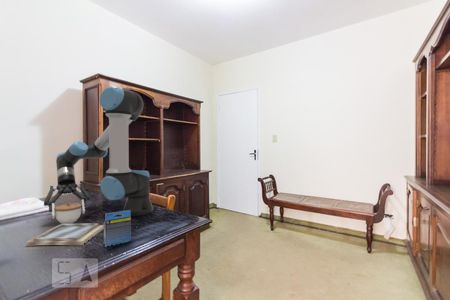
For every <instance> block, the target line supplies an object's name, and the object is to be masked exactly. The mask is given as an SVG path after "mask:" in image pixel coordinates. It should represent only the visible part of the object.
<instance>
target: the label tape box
mask: <svg viewBox="0 0 450 300" xmlns="http://www.w3.org/2000/svg"><path fill="white" fill-rule="evenodd" d="M118 215H119V216H118ZM131 222H132V216H131V211H130V210H127V211H123V210H120V211H115V212H109V213H108V212H106V213H105V220H104V221H103V225H104V229H103V244H105V245H104V247H105V248H107V246H109V247H112V246H111V245H113V246H117V245H121V244H124V243H129V241H130V242H131V241H132V240H131V239H132V237H131V236H132V233H131V232H132V231H131V230H132V229H131V228H132V223H131ZM120 243H121V244H120ZM116 244H117V245H116Z"/></svg>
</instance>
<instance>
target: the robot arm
mask: <svg viewBox="0 0 450 300" xmlns="http://www.w3.org/2000/svg"><path fill="white" fill-rule="evenodd" d="M99 104H100V106H101V108H102V109H103V110H105V116H106V117H108V123H109V124H108V126H107V127H106V129H104V130H103V132H102V133H101V134H100V136H98V138H97V139H96V140H95V141H94V143H92V145H91V144H90V145H87V144H86V143H85V142H83V141H80V140H77V141H74V142H73V143H72V144H70V145H69V147H68V149H66V151H63V152H61V153H58V154H57V156H56V160H55V161H56V163H55V164H56V176H57V179H56V180H57V185H56V186H54V185H50V186H49V191H48V193H47V195H46V197H45V199H44V201H43V206H45V207H47V206H48V212H49V213H51V215H52V217H51V218H52V219H55V203H56V201H57V200H58V199H59V198H61V196H62V195H66V194H71V193H72V194H73V195H74V196H76V197H77V198H78V199H79V200H80V201H81V202H80V204H82V207H81V214H83V215H84V214H85V212H86V209H85V208H86V207H87V205H88V202H87V201H90V200H91V199H90V198H91V196H90V194H89V193H88V191H87V190H86V188H85V187H84V184H83V182H82V183H81V182H80V183H79V184H77V183H76V176H75V175H76V173H75V165H76V164H77V163H78V162H79V161H80V160H84V159H85V160H86V159H87V160H88V159H101V158H105V157H106V156H108V157H109V159H108V160H109V162H108V163H109V165H108V166H109V168H108V169H107V170H106V171H105V176H104V177H103V178H102V180H101V181H100V184H99V185H100V186H99V187H100V191H101V194H102V196H104V197H105V198H106V199H108V200H110V201H117V200H121V199H124V198H126V200H125V203H124V204H125V205H124V207H123V210H122V211H127V210H130V211H131V217H136V216H144V215H149V214H150V213H153V211H154V206H153V204H152V200H151V198H150V197H151V196H150V179H151V177H150V172H149V171H148V170H139V169H138V170H136V169H131V168H130V164H129V163H130V162H129V156H130V155H129V154H130V153H129V143H130V142H129V140H130V139H129V138H130V137H129V125H130V124H131V123H132V122H133V121H134V122H135V121H137V120H138V118H139V117H140V116H141V114H142V113H143V109H144V100H143V98H142V96H141V95H140V94H139V93H137V92H135V91H133V90H129V89H125V88H123V87H122V86H121V87H120V86H115V85H109V86H107V87H105V88H104V89H103V90H102V91H101V93H100V95H99ZM108 149H109V150H108ZM108 153H109V155H108ZM77 188H78V189H79V190H80V191H79V190H77ZM56 190H57V192H56V194H55V195H54V196H53V194H54V192H55V191H56ZM52 196H53V197H52ZM52 219H51V220H52Z"/></svg>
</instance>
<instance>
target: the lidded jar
mask: <svg viewBox="0 0 450 300" xmlns="http://www.w3.org/2000/svg"><path fill="white" fill-rule="evenodd" d="M81 214H82V204H81V203H80V202H79V203H78V202H73V203H70V202H66V203H65V204H61V205H60V204H59V205H57V206H54V217H55V219H56V221H58V222H59V223H60V225H61V224H75V223H76V222H77V221H78V220H79V219H80V217H81Z"/></svg>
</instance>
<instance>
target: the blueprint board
mask: <svg viewBox="0 0 450 300" xmlns="http://www.w3.org/2000/svg"><path fill="white" fill-rule="evenodd" d="M102 231H104V224H99V223H97V222H95V223H70V224H61V223H60V224H58V225H56V226H54V227H52V228H51V229H47V230H46V231H45V232H43V233H41V234H38V235H36V236H35V237H33V238H31V239H29V240H27V241H25V247H35V246H34V245H69V246H84V245H85V244H86V243H88V242H89V241H90V240H91V239H92V237H93V238H94V237H95V236H97V235H98V234H99V233H101V232H102ZM88 240H89V241H88ZM84 243H85V244H84Z"/></svg>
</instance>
